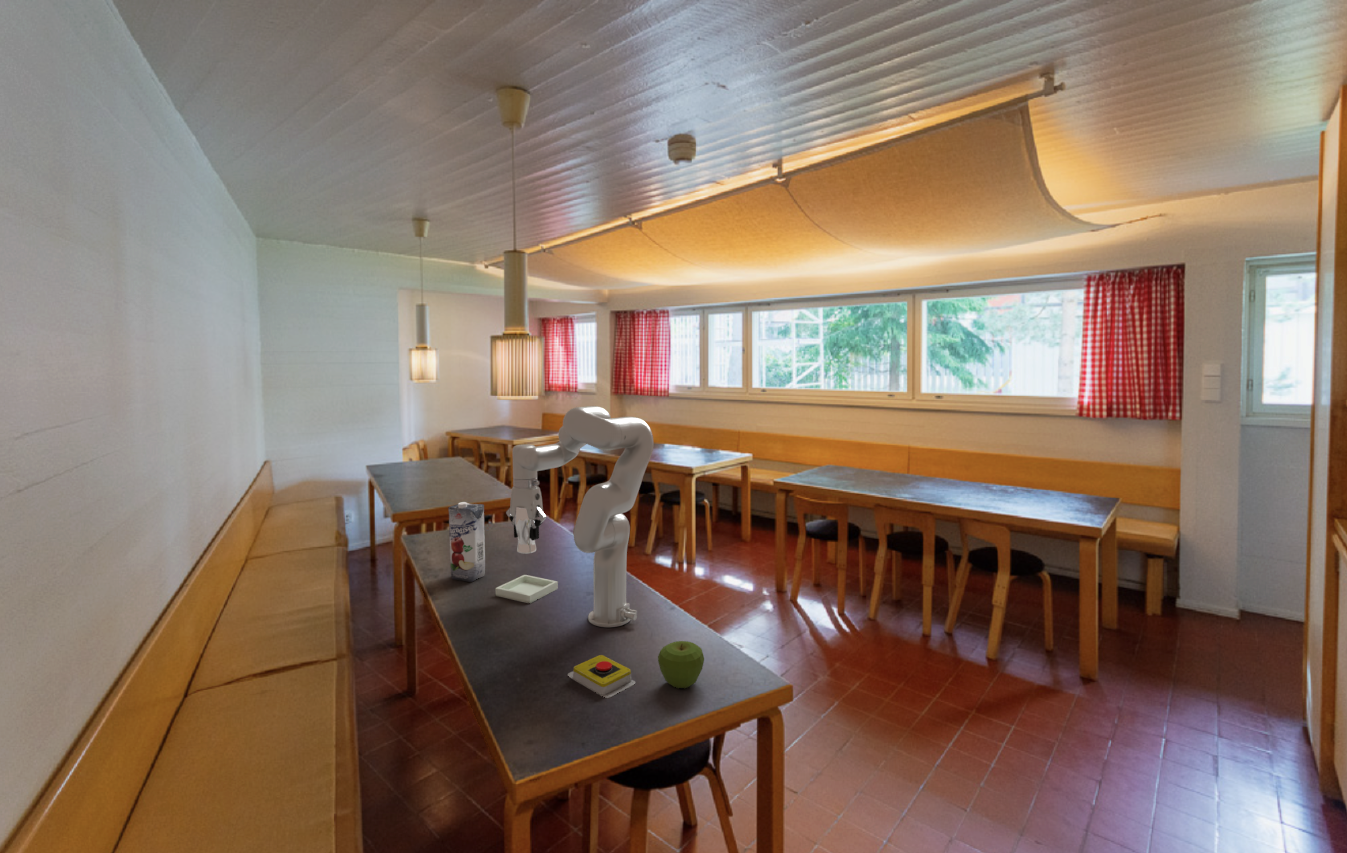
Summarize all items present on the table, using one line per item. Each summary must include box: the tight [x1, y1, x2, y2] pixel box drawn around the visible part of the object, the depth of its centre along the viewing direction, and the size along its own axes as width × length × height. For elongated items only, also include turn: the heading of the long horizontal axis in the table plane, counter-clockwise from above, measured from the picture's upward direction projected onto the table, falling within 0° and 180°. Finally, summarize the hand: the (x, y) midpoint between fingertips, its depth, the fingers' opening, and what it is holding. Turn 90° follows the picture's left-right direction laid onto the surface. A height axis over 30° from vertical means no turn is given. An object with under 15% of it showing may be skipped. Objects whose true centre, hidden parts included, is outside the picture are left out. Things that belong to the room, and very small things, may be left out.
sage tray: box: [495, 574, 559, 604], centre depth 191 cm, size 14×14×2 cm
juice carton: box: [448, 501, 486, 583], centre depth 203 cm, size 9×10×27 cm
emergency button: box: [567, 654, 636, 699], centre depth 138 cm, size 9×4×15 cm
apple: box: [657, 640, 705, 689], centre depth 136 cm, size 11×10×10 cm
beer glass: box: [515, 506, 537, 555], centre depth 189 cm, size 7×7×15 cm
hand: (526, 537), depth 190 cm, fingers closed on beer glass, 6 cm apart
